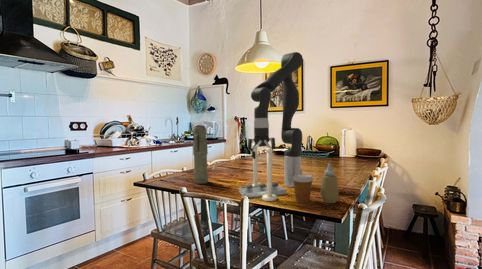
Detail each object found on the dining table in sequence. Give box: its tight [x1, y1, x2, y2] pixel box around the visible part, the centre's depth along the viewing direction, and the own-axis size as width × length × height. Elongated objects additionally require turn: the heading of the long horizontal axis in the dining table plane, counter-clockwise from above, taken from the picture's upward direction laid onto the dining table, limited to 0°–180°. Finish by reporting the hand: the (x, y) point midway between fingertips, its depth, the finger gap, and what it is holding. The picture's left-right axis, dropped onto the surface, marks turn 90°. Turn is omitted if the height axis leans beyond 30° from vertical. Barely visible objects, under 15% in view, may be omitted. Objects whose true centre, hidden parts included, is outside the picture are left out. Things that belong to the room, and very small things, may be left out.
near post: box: [261, 147, 278, 202], centre depth 132 cm, size 7×7×25 cm
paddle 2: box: [272, 181, 279, 188], centre depth 145 cm, size 3×3×2 cm
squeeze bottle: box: [319, 162, 339, 204], centre depth 127 cm, size 8×8×18 cm
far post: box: [251, 142, 259, 186], centre depth 154 cm, size 7×7×25 cm
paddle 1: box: [245, 183, 253, 190], centre depth 142 cm, size 3×3×2 cm
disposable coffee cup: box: [293, 173, 314, 204], centre depth 129 cm, size 10×10×12 cm
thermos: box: [192, 124, 209, 185], centre depth 168 cm, size 9×12×35 cm
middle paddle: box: [258, 182, 267, 188], centre depth 143 cm, size 3×3×2 cm
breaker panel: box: [238, 184, 287, 199], centre depth 144 cm, size 22×12×3 cm, turn 105°
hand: (261, 158), depth 143 cm, fingers open, 8 cm apart
